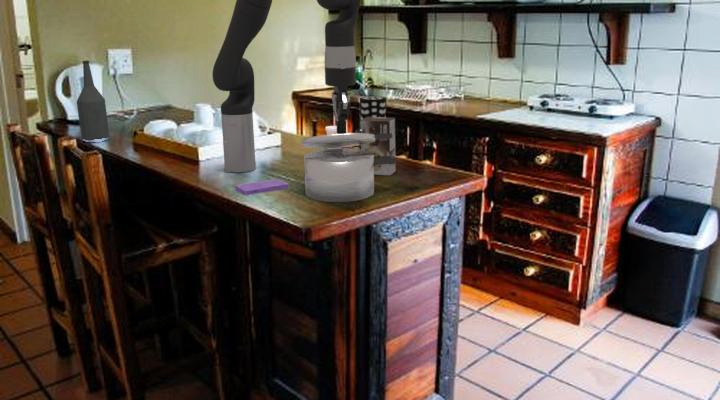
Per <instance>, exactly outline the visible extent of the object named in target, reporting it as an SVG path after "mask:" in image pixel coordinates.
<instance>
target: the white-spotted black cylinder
mask: <svg viewBox="0 0 720 400" xmlns="http://www.w3.org/2000/svg"><path fill="white" fill-rule="evenodd" d="M366 117H387V97H385V96H362V97H359V122H360V121H361V120H362V119H364V118H366ZM359 129H361V125H360V124H359ZM359 149H360V150H361V145H359Z"/></svg>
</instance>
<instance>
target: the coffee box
mask: <svg viewBox="0 0 720 400" xmlns="http://www.w3.org/2000/svg"><path fill="white" fill-rule="evenodd" d="M360 125H361V129H366V133H368V134H385V133H392V138H391V139H380V140H375V142H372V143H369V144H364V145H361V150H366V151H369V152H372V153H373V154H374V157H381V156H395V157H396V156H397V155H396V117H387V116H386V117H366V118H364V119H362V120H361V121H360V120H359V126H360ZM396 158H397V157H396ZM396 165H397V163H396V164H381V165H374V176H375V175H377V176H391V175H393V174H394V173H395V172H396V169H397V168H396Z"/></svg>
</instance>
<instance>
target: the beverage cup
mask: <svg viewBox="0 0 720 400" xmlns="http://www.w3.org/2000/svg"><path fill="white" fill-rule="evenodd" d="M325 131H326V135H328V134H337V126H336V119H335V116H334V115H333V125H327V126H325ZM327 149H333V148H327Z"/></svg>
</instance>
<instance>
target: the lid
mask: <svg viewBox="0 0 720 400" xmlns="http://www.w3.org/2000/svg"><path fill="white" fill-rule="evenodd" d="M391 138H392V133H385V134H368V133H366V129H360V128H359V129H356V130H355V132H346V133H340V134H328V135H327V134H322V135H315V136H310V137H306V138H304V139H303V138H302V139H301V147H303V148H309V149H328V148H350V147H356V146H357V147H358V146H360V145H364V144H369V143H372V142H375V140H380V139H391Z"/></svg>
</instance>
